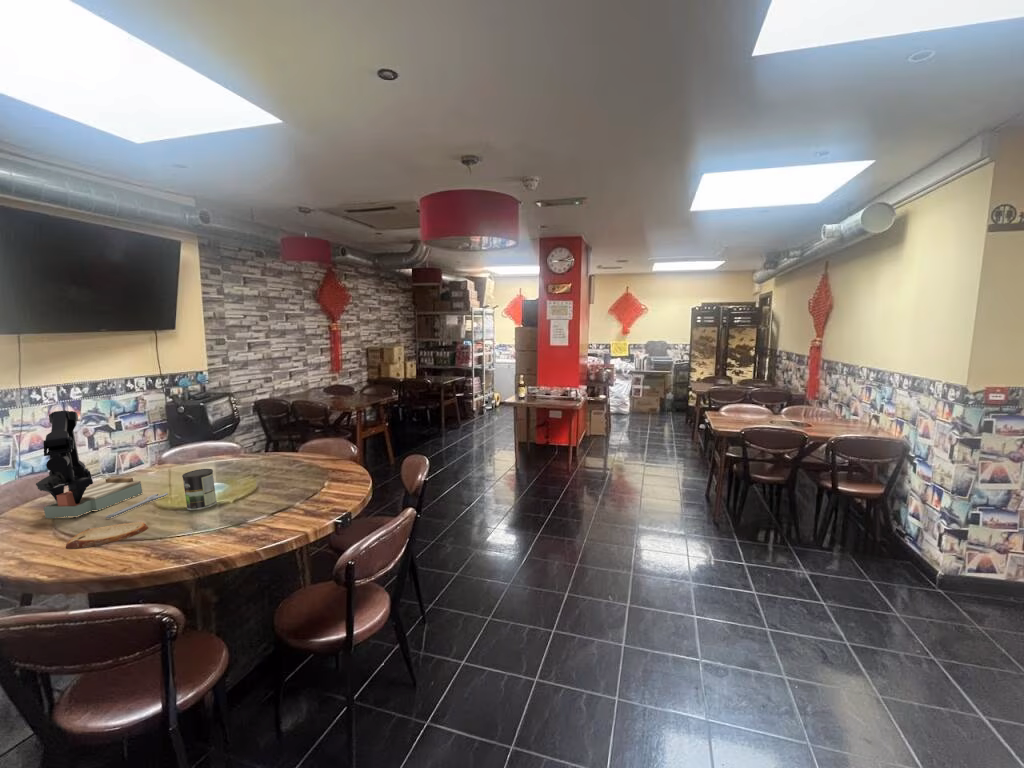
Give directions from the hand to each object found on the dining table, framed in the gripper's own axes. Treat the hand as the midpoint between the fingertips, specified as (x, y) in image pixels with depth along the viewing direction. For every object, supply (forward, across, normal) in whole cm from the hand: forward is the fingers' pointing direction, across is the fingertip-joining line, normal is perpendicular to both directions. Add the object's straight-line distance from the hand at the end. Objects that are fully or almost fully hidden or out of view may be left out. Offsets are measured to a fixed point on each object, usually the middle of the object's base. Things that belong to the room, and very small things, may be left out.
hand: (69, 503), depth 179 cm
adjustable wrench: (+5, +21, +8) cm, 23 cm away
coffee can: (+5, +51, +8) cm, 52 cm away
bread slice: (+5, +39, -20) cm, 44 cm away
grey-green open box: (+5, 0, +10) cm, 11 cm away
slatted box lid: (-1, 0, +13) cm, 13 cm away
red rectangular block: (+5, 0, 0) cm, 5 cm away
